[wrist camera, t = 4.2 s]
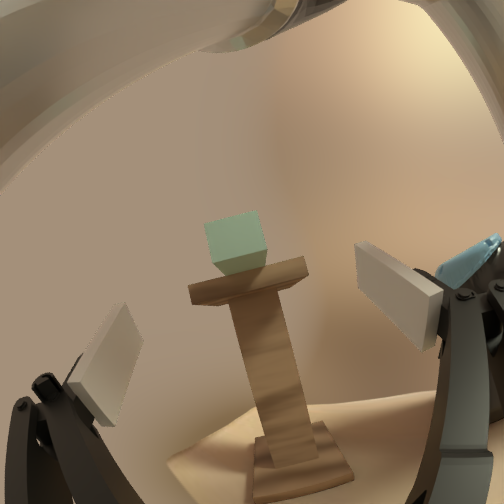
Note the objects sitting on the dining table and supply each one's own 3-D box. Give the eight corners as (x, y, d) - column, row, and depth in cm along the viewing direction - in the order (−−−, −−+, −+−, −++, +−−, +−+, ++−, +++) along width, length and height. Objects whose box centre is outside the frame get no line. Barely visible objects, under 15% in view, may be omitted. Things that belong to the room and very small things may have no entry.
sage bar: (267, 249, 20) (256, 210, 20) (212, 263, 20) (203, 223, 20) (263, 277, 38) (257, 257, 39) (235, 284, 38) (230, 264, 39)
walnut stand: (354, 480, 22) (303, 255, 28) (255, 504, 22) (187, 285, 27) (323, 427, 40) (286, 276, 45) (257, 444, 39) (215, 294, 45)
